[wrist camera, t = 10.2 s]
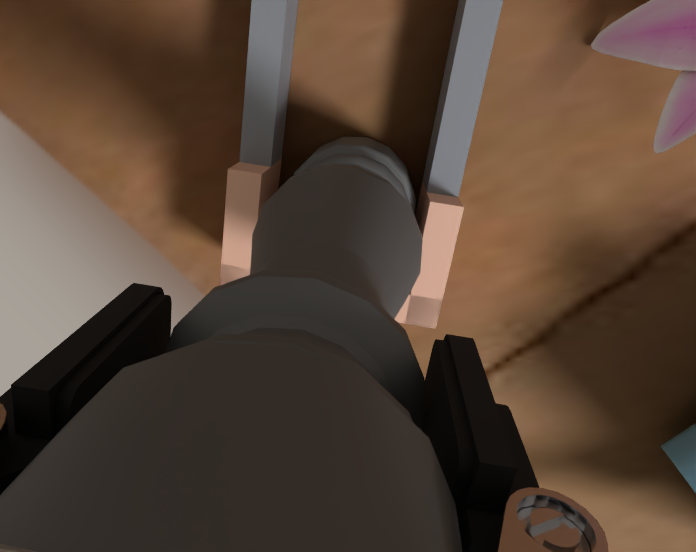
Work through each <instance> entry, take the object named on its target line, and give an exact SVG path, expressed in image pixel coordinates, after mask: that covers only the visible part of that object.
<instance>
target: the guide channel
mask: <svg viewBox="0 0 696 552" xmlns="http://www.w3.org/2000/svg"><path fill="white" fill-rule="evenodd" d="M502 3H503V0H459V2H458V7H457V11H456V16H455V21H454V26H453V31H452V36H451V41H450V46H449V51H448V56H447V61H446V66H445V71H444V76H443V81H442V86H441V91H440V96H439V101H438V106H437V111H436V116H435V121H434V126H433V131H432V135H431V140H430V145H429V150H428V155H427V160H426V165H425V170H424V175H423V180H422V185H421V190H420V195H419V200H418V205H417V210H416V215H415V218H416V221H417V224H418V227H419V230H420V232H421V235H422V240H423V242H422V256H421V271H420V274H419V276H418V278H417V280H416V282H415V284H414V286H413V288H412V290H411V292H410V293H409V295H408V297H407V299H406V301H405V303H404V304H403V306H402V308H401V309H400V311H399V313H398V314H397V316H396V317H395V320H396V321H397V322H399V323H405V324H411V325H417V326H423V327H429V328H436V325H437V320H438V316H439V312H440V308H441V303H442V299H443V295H444V291H445V286H446V282H447V278H448V274H449V269H450V265H451V261H452V256H453V252H454V248H455V244H456V239H457V235H458V231H459V227H460V222H461V218H462V214H463V209H464V206H463V205H462V203H461V201H460V200H459V198H458V195H459V191H460V187H461V182H462V178H463V174H464V169H465V165H466V160H467V156H468V152H469V147H470V143H471V139H472V134H473V130H474V125H475V121H476V117H477V112H478V108H479V104H480V99H481V95H482V90H483V86H484V82H485V77H486V73H487V69H488V64H489V60H490V55H491V51H492V47H493V42H494V38H495V33H496V29H497V25H498V20H499V16H500V12H501V7H502ZM297 7H298V0H252V2H251V15H250V28H249V42H248V55H247V68H246V81H245V94H244V107H243V121H242V134H241V147H240V160H239V162H238V163H237V164H235V165H233V166H232V167H230V168H228V174H227V189H226V204H225V218H224V233H223V247H222V262H221V276H220V285H223V284H226V283H228V282H231V281H234V280H237V279H240V278H242V277H245V276H248V275H250V266H251V251H252V234H253V231H254V228H255V226H256V223H257V221H258V218H259V215H260V213H261V210H262V208H263V205H264V203H265V202H266V201H267V200H268V199H269V198H270V197H271V196H272V195H273V194H274V193H275V192H276V191H277V190H278V189H279V180H280V170H281V161H282V151H283V141H284V132H285V122H286V113H287V103H288V93H289V84H290V74H291V65H292V55H293V46H294V36H295V26H296V17H297Z"/></svg>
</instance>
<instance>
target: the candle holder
mask: <svg viewBox="0 0 696 552" xmlns="http://www.w3.org/2000/svg"><path fill="white" fill-rule="evenodd" d="M415 205H416V199H415V194H414V189H413V185H412V182H411V179H410V176H409V174H408V171H407V168H406V165H405V164H404V163H403V162H402V160H401V159H400V158H399V157H398V156H397V155H396V154H395V153H394V152H393V151H392V149H391V148H390V147H388V146H386V145H384V144H382V143H379V142H377V141H375V140H373V139H371V138H368V137H345V136H344V137H341V138H339V139H336V140H334V141H331V142H329V143H326V144H324V145H321V146H320V147H319V148H318V149H317V150H316V151H315V152H314V153H313V154H312V155H311V156H310V157H309V158H308V159H307V160H306V161H305V162H304V163H303V164H302V165H301V166H300V167H299V168H298V169H297V170H296V171H295V173H294V175H293V176H292V177H290V178H289V179H288V180H287V181H286V182H285V183H284V184H283V185H282V186H281V187H280V188H279V189H278V190H277V191H276V192H275V193H274V194H273V195H272V196H271V197H270V198H269V199H268V200H267V201H266V202H265V203H264V205H263V208H262V210H261V213H260V215H259V218H258V221H257V223H256V226H255V228H254V231H253V234H252V251H251V266H250V275H248V276H245V277H242V278H240V279H237V280H234V281H231V282H228V283H226V284H223V285H220V286H217V287H215V288H214V289H212V290H211V291H210V292H209V293H208V294H207V295H206V296H205V297H204V298H203V299H202V300H201V301H200V302H199V303H198V304H197V305H196V306H195V307H194V308H193V309H192V310H191V311H190V312H189V313H188V314H187V315H186V316H185V317H184V318H183V319H182V320H181V321H180V322H179V323H178V324H177V325H176V326H175V327H174V329H173V332H172V334H171V337H170V340H169V343H168V346H167V349H166V352H165V354H162V355H160V356H157V357H154V358H151V359H148V360H145V361H142V362H139V363H136V364H133V365H130V366H127V367H124V368H123V369H122V370H121V371H120V372H119V373H118V374H117V375H115V376H114V377H113V378H112V379H111V380H110V381H109V382H108V383H107V384H106V385H105V386H104V387H103V388H102V389H101V390H100V391H99V392H98V393H97V394H96V395H95V396H94V397H93V398H92V399H91V400H90V401H89V402H88V403H87V404H86V405H85V406H84V407H83V408H82V409H81V410H80V411H79V412H78V413H77V414H76V415H75V416H74V417H73V418H72V419H71V420H70V421H69V422H68V423H67V424H66V425H65V426H64V427H63V428H62V429H61V431H60V432H59V433H58V434H57V435H56V436H55V437H54V438H53V439H52V440H51V441H50V442H49V443H48V444H47V445H46V447H45V448H44V449H43V450H42V451H41V452H40V453H39V454H38V455H37V456H36V457H35V458H34V459H33V460H32V462H31V463H30V464H29V465H28V466H27V467H26V468H25V469H24V470H23V471H22V472H21V473H20V474H19V475H18V476H17V478H16V479H15V480H14V481H13V482H12V483H11V484H10V485H9V486H8V487H7V488H6V489H5V490H4V491H3V493H2V494H1V495H0V544H3V545H8V546H13V547H18V548H23V549H28V550H32V551H36V552H463V551H462V544H461V537H460V531H459V524H458V517H457V511H456V504H455V501H454V498H453V496H452V493H451V491H450V489H449V486H448V484H447V481H446V479H445V476H444V474H443V471H442V469H441V466H440V464H439V461H438V459H437V456H436V454H435V451H434V449H433V446H432V444H431V441H430V439H429V437H428V436H427V435H425V434H424V433H423V432H422V419H423V406H424V394H425V380H424V376H423V374H422V371H421V369H420V366H419V363H418V361H417V358H416V356H415V353H414V351H413V348H412V346H411V343H410V340H409V338H408V335H407V333H406V331H405V329H404V328H403V327H402V326H401V325H400V324H399V323H398V322H397V321H396V320H395V317H396V316H397V314H398V313H399V311H400V309H401V308H402V306H403V304H404V303H405V301H406V299H407V297H408V295H409V293H410V292H411V290H412V288H413V286H414V284H415V282H416V280H417V278H418V276H419V274H420V271H421V256H422V242H423V240H422V235H421V232H420V230H419V227H418V224H417V221H416V218H415Z"/></svg>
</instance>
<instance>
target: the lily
mask: <svg viewBox="0 0 696 552" xmlns="http://www.w3.org/2000/svg"><path fill="white" fill-rule="evenodd" d="M591 46H592V49H594V50H596V51H598V52H601V53H603V54H607V55H611V56H615V57H619V58H623V59H628V60H633V61H637V62H641V63H645V64H649V65H654V66H658V67H663V68H669V69H674V70H683V71H682V72H681V73H680V75H679V76H678V77H677V79H676V81H675V83H674V85H673V87H672V89H671V91H670V93H669V96H668V98H667V101H666V103H665V106H664V109H663V111H662V114H661V117H660V120H659V124H658V127H657V130H656V134H655V140H654V145H653V147H654V150H655V153H661V152H665V151H666V150H668V149H670V148H672V147H674V146H676V145H678V144H679V143H681V142H683V141H684V140H686V139H688V138H689V137H691V136H693V135H694V134H696V0H650V1H648V2H646V3H645V4H643V5H641V6H639V7H637V8H636V9H634V10H632V11H630V12H629V13H627V14H626V15H624V16H623V17H621V18H619V19H618V20H616V21H615V22H613V23H612V24H610V25H609V26H607V27H606V28H605V29H604V30H602V31H601V32H600V33H599V34H598V35H597V36H596V38H595V39H594V41H593V42H592V44H591Z"/></svg>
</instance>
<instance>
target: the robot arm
mask: <svg viewBox="0 0 696 552" xmlns="http://www.w3.org/2000/svg"><path fill="white" fill-rule="evenodd" d="M170 332H171V297H170V296H168V295H164V292H163V289H162V288H160V287H155V286H149V285H143V284H137V283H133V284H132V285H130V286H129V287H128V288H127V289H125V290H124V291H123V292H122V293H121V294H119V295H118V296H117V297H116V298H115V299H113V300H112V301H111V302H110V303H109V304H107V305H106V306H105V307H104V308H103V309H102V310H100V311H99V312H98V313H97V314H95V315H94V316H93V317H92V318H91V319H89V320H88V321H87V322H86V323H85V324H83V325H82V326H81V327H80V328H79V329H77V330H76V331H75V332H74V333H73V334H71V335H70V336H69V337H68V338H67V339H66V340H64V341H63V342H62V343H61V344H60V345H59V346H57V347H56V348H55V349H54V350H52V351H51V352H50V353H49V354H48V355H46V356H45V357H44V358H43V359H42V360H40V361H39V362H38V363H37V364H36V365H34V366H33V367H32V368H31V369H30V370H28V371H27V372H26V373H25V374H24V375H23V376H21V377H20V378H19V379H18V380H16V381H15V382H14V383H13V384H12V385H11V388H10V389H9V390H8V391H7V392H5V393H4V394H3V395H2V396H1V397H0V495H1V494H2V493H3V491H4V490H5V489H6V488H7V487H8V486H9V485H10V484H11V483H12V482H13V481H14V480H15V479H16V478H17V476H18V475H19V474H20V473H21V472H22V471H23V470H24V469H25V468H26V467H27V466H28V465H29V464H30V463H31V462H32V460H33V459H34V458H35V457H36V456H37V455H38V454H39V453H40V452H41V451H42V450H43V449H44V448H45V447H46V445H47V444H48V443H49V442H50V441H51V440H52V439H53V438H54V437H55V436H56V435H57V434H58V433H59V432H60V431H61V429H62V428H63V427H64V426H65V425H66V424H67V423H68V422H69V421H70V420H71V419H72V418H73V417H74V416H75V415H76V414H77V413H78V412H79V411H80V410H81V409H82V408H83V407H84V406H85V405H86V404H87V403H88V402H89V401H90V400H91V399H92V398H93V397H94V396H95V395H96V394H97V393H98V392H99V391H100V390H101V389H102V388H103V387H104V386H105V385H106V384H107V383H108V382H109V381H110V380H111V379H112V378H113V377H114V376H115V375H117V374H118V373H119V372H120V371H121V370H122V369H123V368H124V367H127V366H130V365H133V364H136V363H139V362H142V361H145V360H148V359H151V358H154V357H157V356H160V355H162V354H165V352H166V349H167V346H168V343H169V340H170V334H171V333H170ZM422 432H423V433H424V434H425V435H427V436H428V437H429V439H430V441H431V444H432V446H433V449H434V451H435V454H436V456H437V459H438V461H439V464H440V466H441V469H442V471H443V474H444V476H445V479H446V481H447V484H448V486H449V489H450V491H451V493H452V496H453V498H454V501H455V504H456V511H457V517H458V524H459V531H460V537H461V544H462V551H463V552H608V543H607V540H606V536H605V532H604V531H603V529H602V528H601V526H600V525H599V523H598V521H597V520H596V519H595V518H594V517H593V516H592V515H591V514H590V513H589V512H588V511H587V510H586V509H585V508H584V507H582V506H581V505H579V504H578V503H576V502H575V501H574V500H572V499H570V498H568V497H566V496H564V495H562V494H560V493H558V492H554V491H551V490H547V489H544V488H539V485H538V483H537V480H536V477H535V475H534V472H533V469H532V467H531V464H530V461H529V459H528V456H527V453H526V451H525V448H524V445H523V443H522V440H521V437H520V435H519V432H518V429H517V427H516V424H515V421H514V419H513V416H512V413H511V411H510V409H509V407H508V406H506V405H502V404H496V403H495V401H494V398H493V395H492V392H491V389H490V386H489V383H488V380H487V377H486V374H485V371H484V368H483V365H482V362H481V359H480V356H479V353H478V350H477V348H476V345H475V342H474V339H473V338H467V337H461V336H455V335H449V334H446V336H445V338H444V340H437V339H436V340H435V342H434V345H433V348H432V353H431V357H430V361H429V365H428V370H427V374H426V378H425V394H424V406H423V419H422ZM0 552H36V551H32V550H28V549H23V548H18V547H13V546H8V545H3V544H0Z"/></svg>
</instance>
